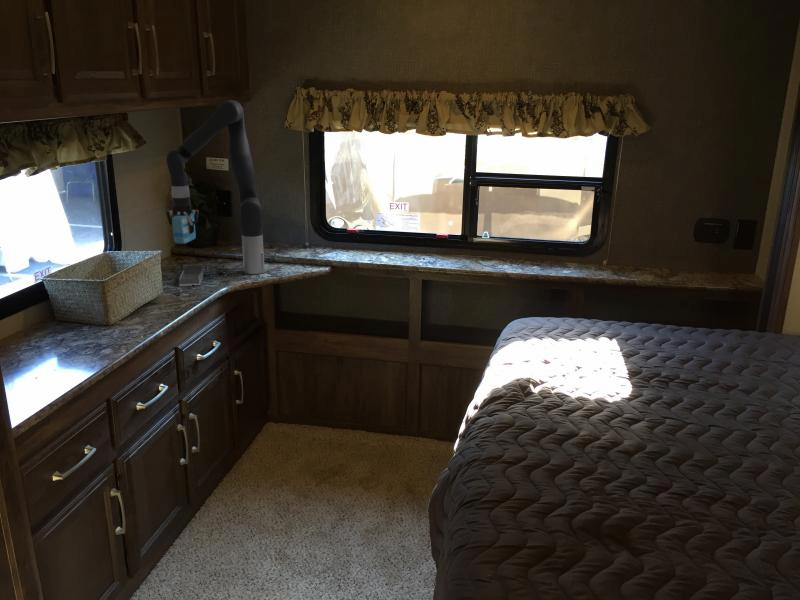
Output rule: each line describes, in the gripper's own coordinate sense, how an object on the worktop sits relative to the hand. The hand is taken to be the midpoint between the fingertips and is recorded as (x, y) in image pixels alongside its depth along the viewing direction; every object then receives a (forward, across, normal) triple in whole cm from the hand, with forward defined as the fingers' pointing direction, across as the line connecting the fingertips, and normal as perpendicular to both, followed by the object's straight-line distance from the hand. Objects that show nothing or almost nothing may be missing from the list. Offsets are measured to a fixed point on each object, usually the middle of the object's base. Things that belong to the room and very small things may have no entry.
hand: (184, 233), depth 304 cm
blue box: (+4, 0, 0) cm, 4 cm away
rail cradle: (+17, -4, +17) cm, 25 cm away
